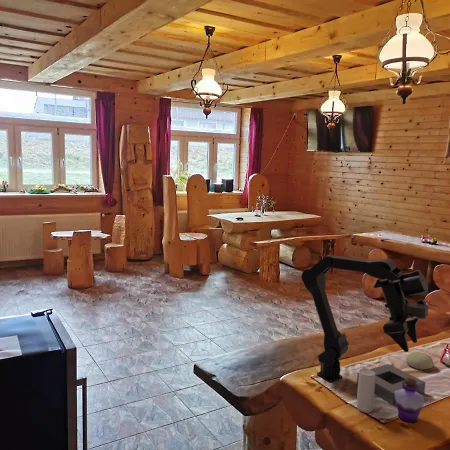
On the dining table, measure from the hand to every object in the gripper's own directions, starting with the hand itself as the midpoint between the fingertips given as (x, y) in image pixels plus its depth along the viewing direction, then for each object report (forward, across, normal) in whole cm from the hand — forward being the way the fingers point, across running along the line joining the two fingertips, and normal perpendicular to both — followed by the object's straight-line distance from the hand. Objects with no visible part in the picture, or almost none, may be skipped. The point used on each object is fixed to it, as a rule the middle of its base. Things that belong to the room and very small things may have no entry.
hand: (411, 347), depth 138 cm
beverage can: (+13, -13, +15) cm, 24 cm away
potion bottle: (+18, -9, +5) cm, 21 cm away
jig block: (+14, +5, +13) cm, 20 cm away
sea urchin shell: (+15, +30, +11) cm, 35 cm away
